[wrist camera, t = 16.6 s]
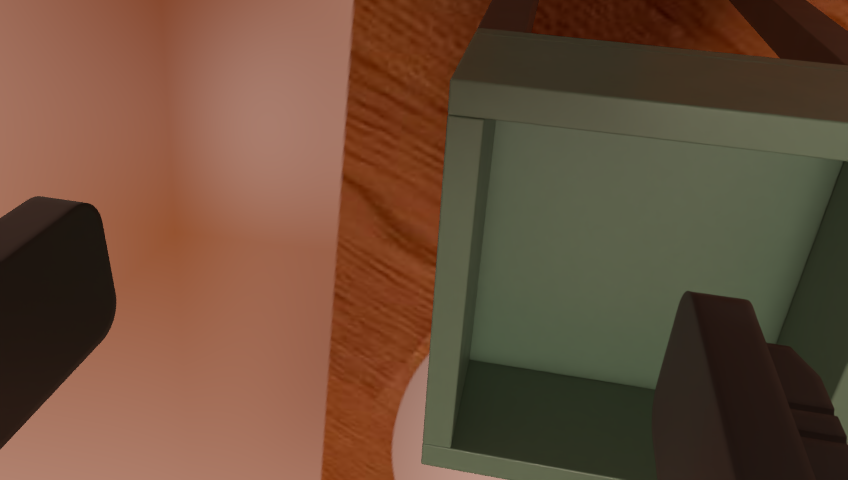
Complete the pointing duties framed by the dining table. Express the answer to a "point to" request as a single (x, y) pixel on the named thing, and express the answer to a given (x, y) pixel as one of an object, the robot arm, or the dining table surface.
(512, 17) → the cabinet
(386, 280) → the dining table surface
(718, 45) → the dining table surface
